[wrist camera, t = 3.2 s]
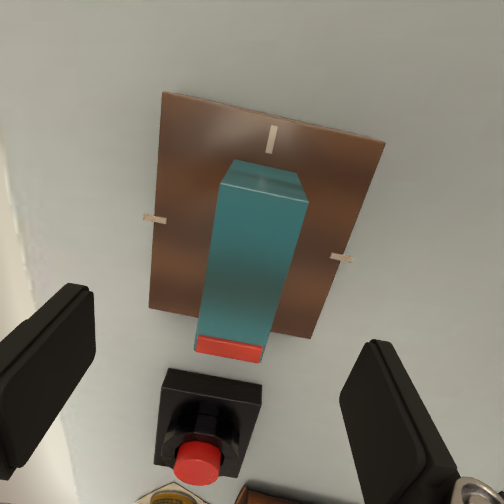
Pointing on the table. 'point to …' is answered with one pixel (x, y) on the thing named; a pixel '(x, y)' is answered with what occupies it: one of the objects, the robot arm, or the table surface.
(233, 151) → the base
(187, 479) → the button
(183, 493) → the condiment
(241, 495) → the sunglasses case
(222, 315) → the teal rectangular block
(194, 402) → the button box
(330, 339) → the table surface
